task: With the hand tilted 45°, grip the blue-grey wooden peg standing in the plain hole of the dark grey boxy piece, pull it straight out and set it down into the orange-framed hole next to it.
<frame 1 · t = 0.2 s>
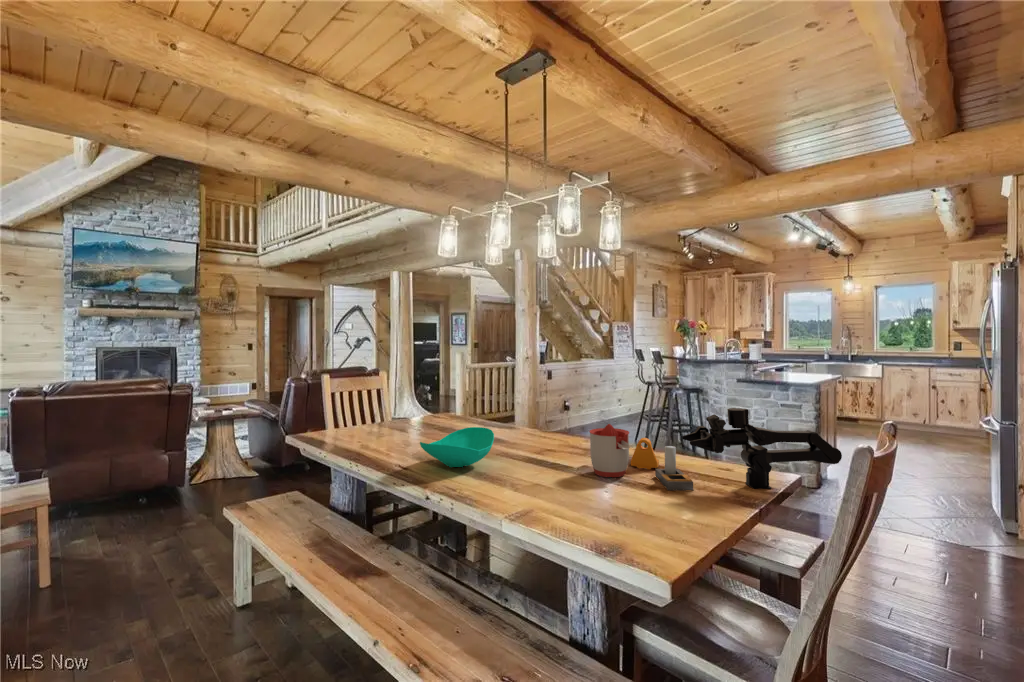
hand: (685, 440, 171), 17 cm above the table, tool horizontal, fingers open, 9 cm apart
citrus juicer: (611, 475, 187), on the table
dark grey boxy piece: (673, 483, 175), on the table
table top decor: (458, 466, 203), on the table
bracket: (644, 467, 198), on the table
peg: (670, 480, 178), resting in dark grey boxy piece
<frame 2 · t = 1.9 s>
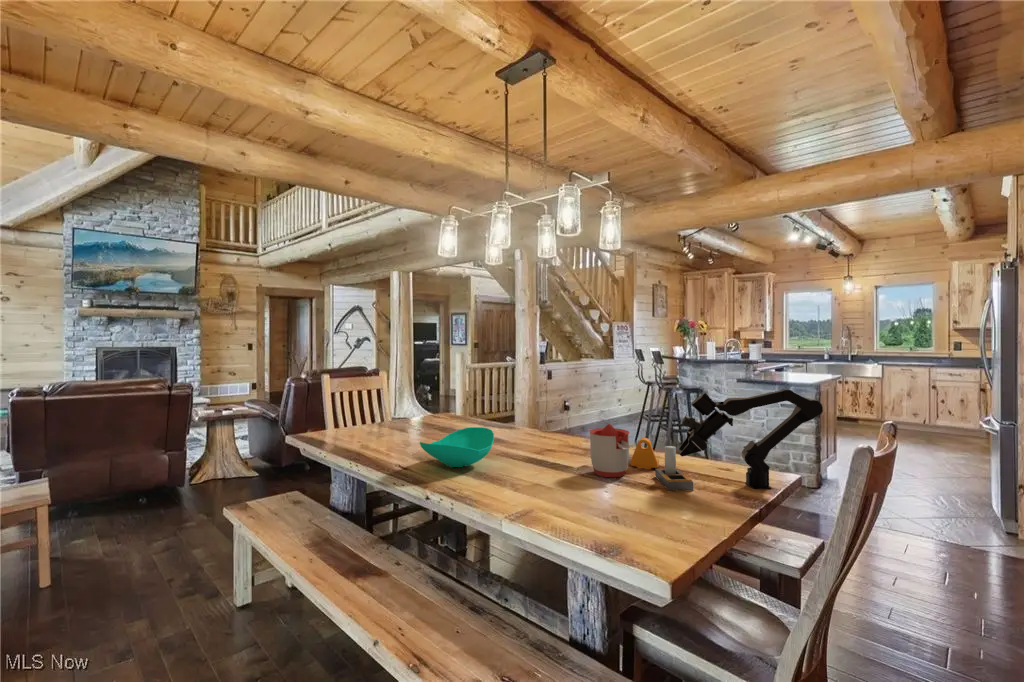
hand: (680, 452, 177), 11 cm above the table, tool tilted 45°, fingers open, 9 cm apart
nothing on the table moved.
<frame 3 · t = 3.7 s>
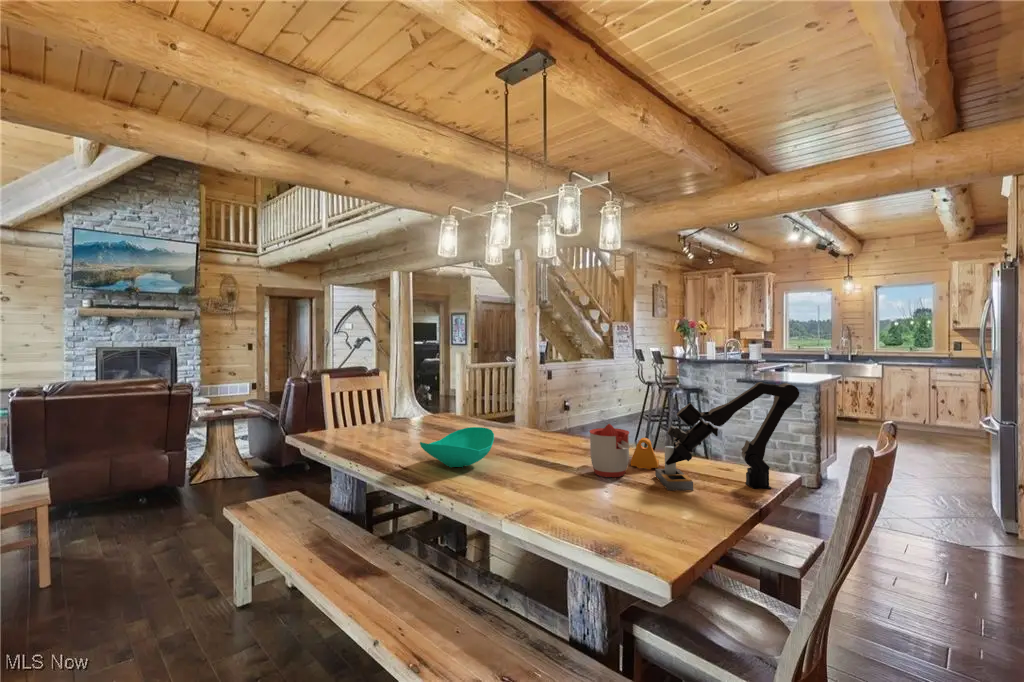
hand: (666, 462, 179), 7 cm above the table, tool tilted 45°, fingers closed on peg, 4 cm apart
peg: (670, 480, 178), resting in dark grey boxy piece, touching gripper
everything else where it was.
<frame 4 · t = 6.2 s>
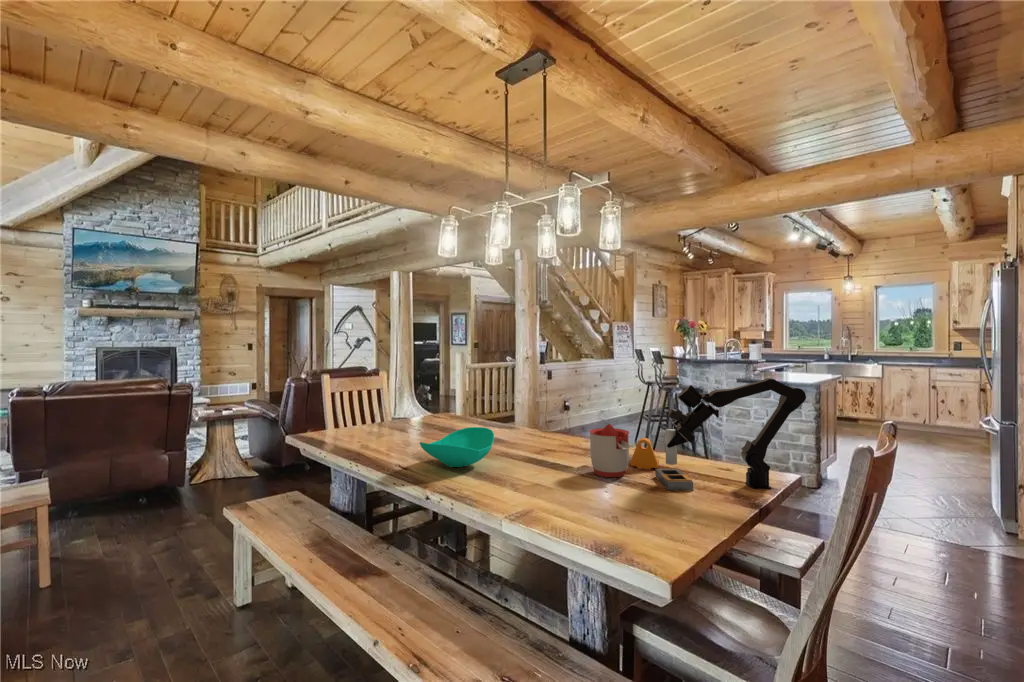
hand: (667, 445, 177), 13 cm above the table, tool tilted 45°, fingers closed on peg, 4 cm apart
peg: (671, 463, 177), point 7 cm above the table, touching gripper
everything else where it was.
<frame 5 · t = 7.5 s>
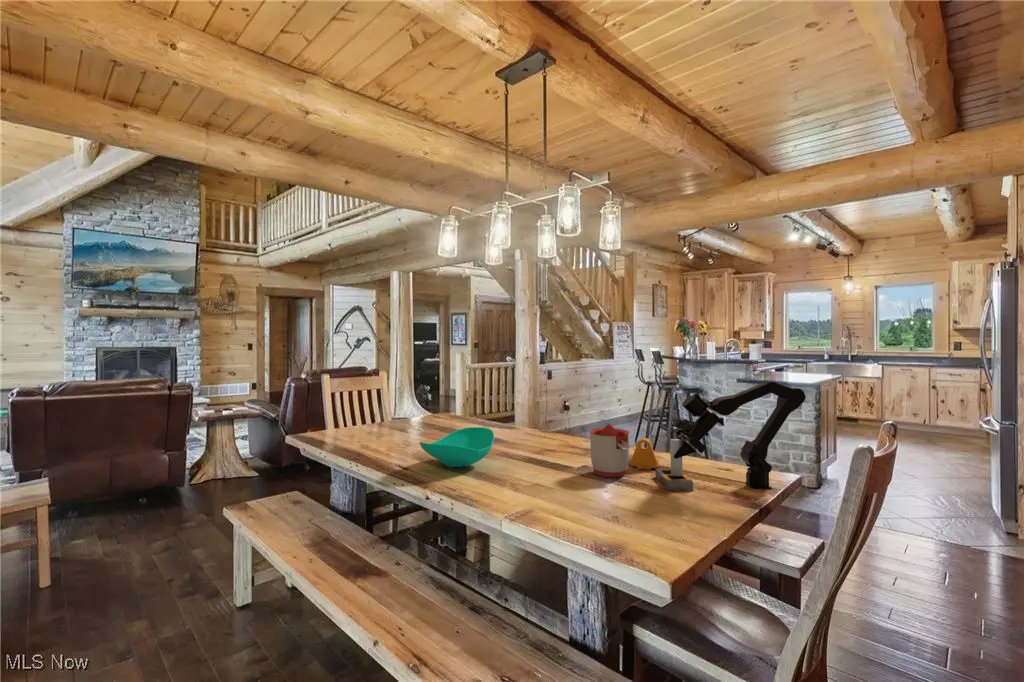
hand: (672, 456, 171), 11 cm above the table, tool tilted 45°, fingers closed on peg, 4 cm apart
peg: (676, 474, 171), point 4 cm above the table, touching gripper
everything else where it was.
when the fingers open (7 cm above the table, at t = 8.5 s): peg stays where it is, resting in dark grey boxy piece.
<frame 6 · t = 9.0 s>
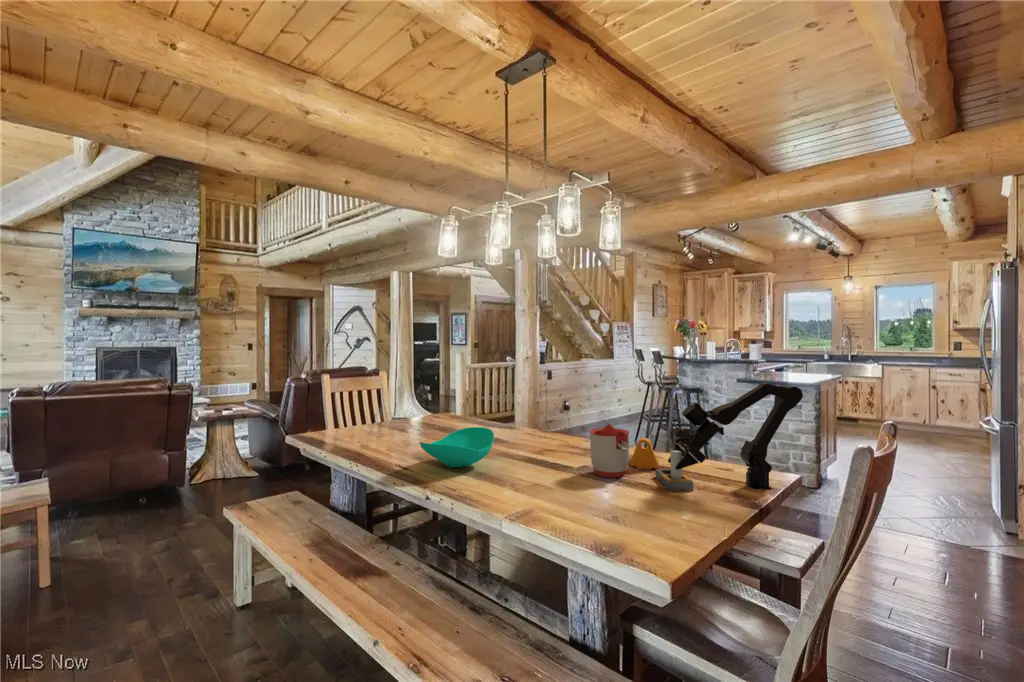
hand: (672, 465, 171), 8 cm above the table, tool tilted 45°, fingers open, 9 cm apart
peg: (676, 486, 171), resting in dark grey boxy piece
everything else where it was.
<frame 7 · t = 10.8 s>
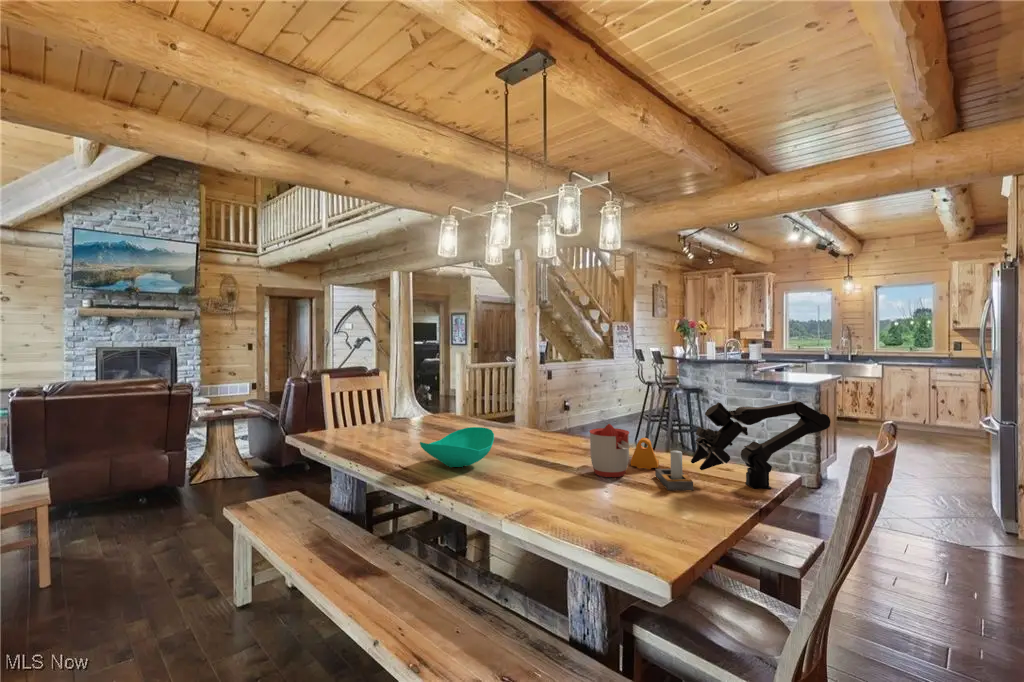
hand: (695, 465, 171), 7 cm above the table, tool tilted 45°, fingers open, 9 cm apart
nothing on the table moved.
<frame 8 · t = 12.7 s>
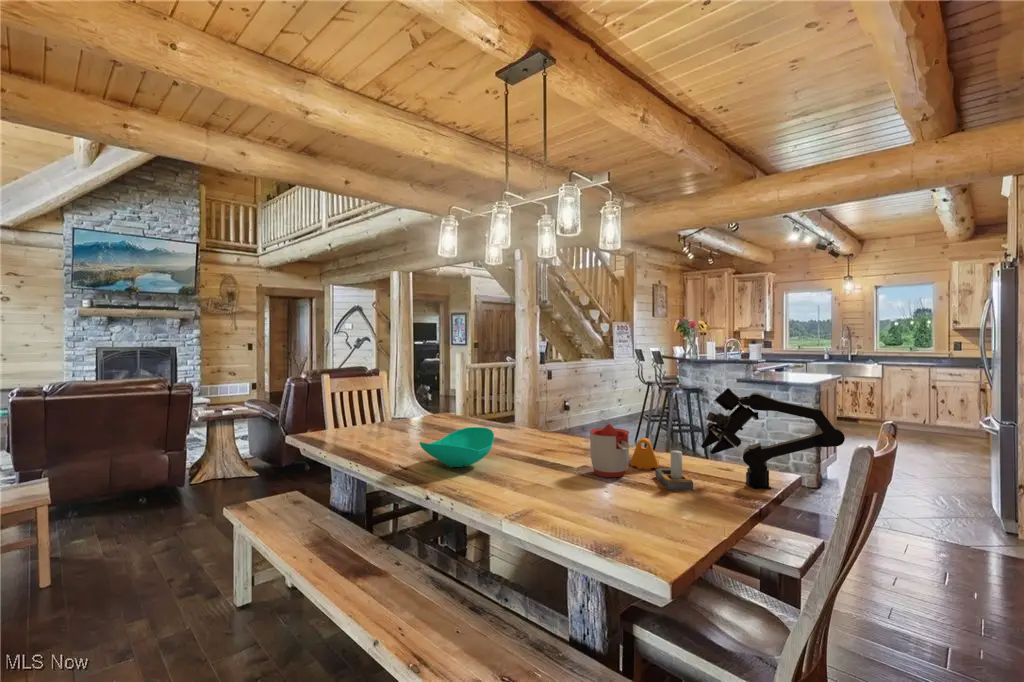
hand: (706, 450, 172), 13 cm above the table, tool tilted 45°, fingers open, 9 cm apart
nothing on the table moved.
at the end: peg 0.1 cm from the target spot on the dark grey boxy piece, point 0.0 cm above the dark grey boxy piece's base; peg tilted 0°; the gripper is holding nothing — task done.
